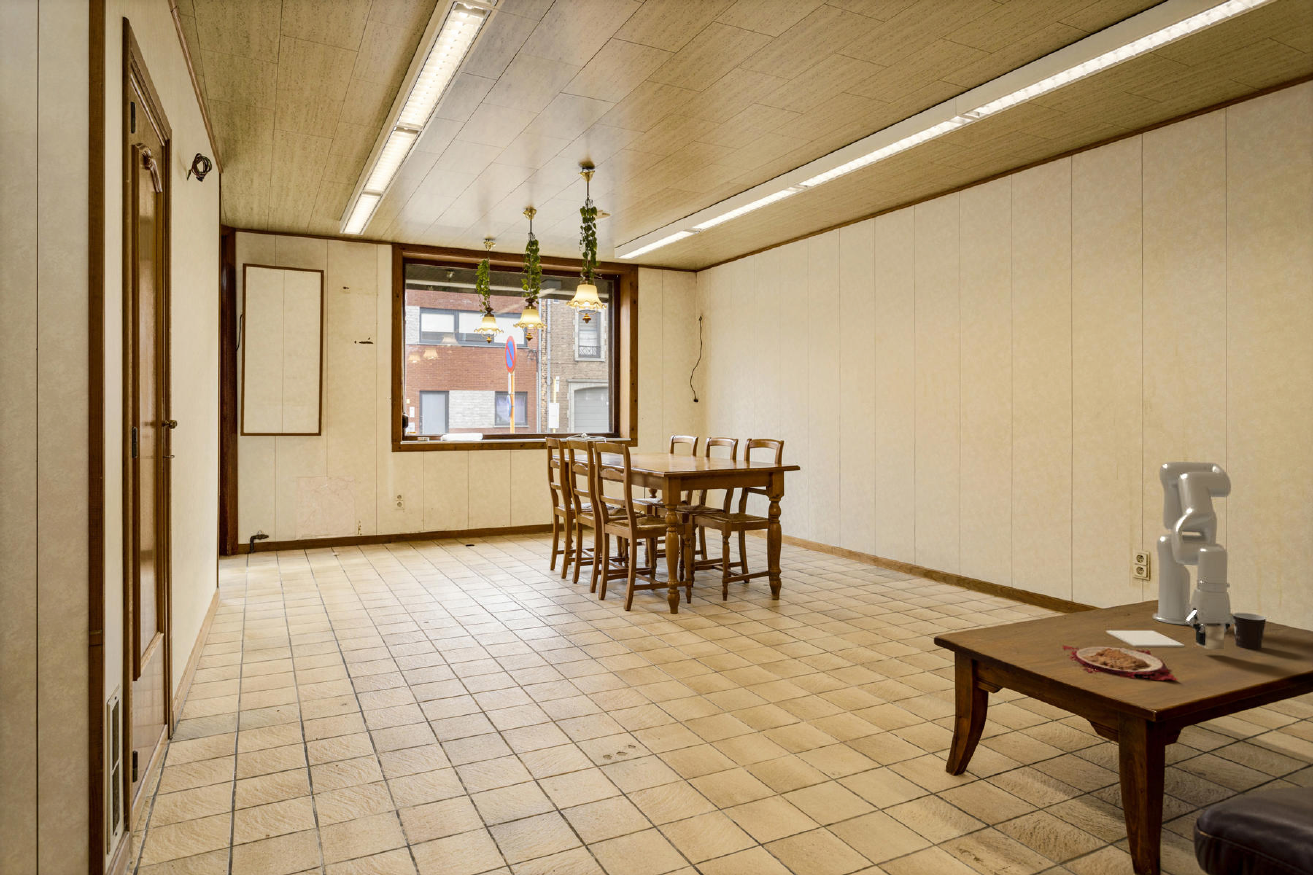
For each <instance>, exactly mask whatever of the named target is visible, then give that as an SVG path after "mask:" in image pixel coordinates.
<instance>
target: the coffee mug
mask: <svg viewBox="0 0 1313 875" xmlns="http://www.w3.org/2000/svg"><path fill="white" fill-rule="evenodd" d="M1232 617H1233V618H1234V620H1235V623H1234V624H1233V629H1234V637H1235V646H1236V647H1239V648H1241V649H1246V650H1251V651H1252V650H1253V651H1254V650H1255V651H1256V650H1257V651H1258V650H1261V649H1262V644H1263V638H1264V633H1265V627H1266V621H1267V618H1266V617H1265V616H1263V615H1260V614H1256V613H1248V612H1233V613H1232Z"/></svg>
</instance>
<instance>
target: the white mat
mask: <svg viewBox="0 0 1313 875" xmlns="http://www.w3.org/2000/svg"><path fill="white" fill-rule="evenodd" d="M1106 633H1107V634H1109V635H1111V636H1113V637H1115V638H1117V639H1119V640H1121V641H1123V642H1125V643H1127V644H1129V645H1131V646H1132V647H1135V648H1138V647H1140V648H1141V647H1142V648H1144V647H1148V648H1149V647H1157V648H1158V647H1163V648H1164V647H1165V648H1166V647H1168V648H1169V647H1171V648H1172V647H1176V648H1177V647H1181V648H1183V647H1185V644H1183V643H1181V642H1179V641H1177V640H1174V639H1172V638H1170V637H1168V636H1166V635H1163V634H1162V633H1159V632H1157V631H1155V630H1106Z"/></svg>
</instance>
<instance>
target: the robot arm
mask: <svg viewBox="0 0 1313 875" xmlns="http://www.w3.org/2000/svg"><path fill="white" fill-rule="evenodd" d="M1159 480H1160V484H1161V486H1162V488H1163V492H1164V495H1163V496H1164V497H1163V512H1162V513H1163V515H1162V518H1163V519H1162V522H1163V526H1164V528H1165V529H1166V530H1168V531H1171V532H1170V533H1166V534H1163V535H1160V536H1158V538H1157V540H1156V550H1157V551H1156V552H1157V556H1158V599H1157V600H1158V601H1157V605H1158V607H1157V608H1158V609H1157V612H1155V613H1153V614H1152V618H1153V619H1154V620H1155V621H1159V622H1161V623H1162V622H1163V623H1166V624H1171V625H1172V624H1173V625H1182V626H1183V625H1187V626H1188V625H1189V626H1191V627H1192V628H1193V629H1194V631H1195V641H1196V642H1197V643H1198V644H1200V645H1203V646H1204V645H1205V633H1204V629H1205V626H1206V624H1218V625H1220V626H1223V627H1224V634H1225V633H1227V630H1228V629H1230V627H1231V626H1232V625H1234V623H1235V620H1234V618H1233V615H1232V613H1231V609H1232V608H1231V598H1230V595H1229V592H1228V591H1227V589H1228V588H1230V583H1229V582H1228V556H1229V555H1228V552H1227V550H1226V548H1225V547H1224V546H1223V545H1222V544H1220V543H1216V542H1217V531H1218V530H1217V528H1218V518H1217V513H1216V512H1215V510H1214V506H1213V500H1212V498H1226V497H1228V496H1229V495H1230V494H1231V491H1232V483H1231V480H1230V477H1229V475H1228V473H1227V472H1226V471H1225V470H1224V469H1223V468H1222V467H1221V466H1220V465H1219V464H1217V463H1214V462H1198V461H1197V462H1196V461H1195V462H1192V461H1170V462H1165V463H1163V464H1161V466H1160V468H1159ZM1183 533H1198V534H1199V535H1196V534H1183ZM1186 565H1187V566H1197V572H1196V573H1197V576H1196V589H1194V590H1193V592H1192V595H1191V573H1190V571H1189V569H1188V568H1187V567H1186ZM1200 624H1201V625H1200ZM1196 642H1195V643H1196Z"/></svg>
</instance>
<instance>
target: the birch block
mask: <svg viewBox="0 0 1313 875" xmlns="http://www.w3.org/2000/svg"><path fill="white" fill-rule="evenodd" d="M1200 625H1201V624H1200ZM1204 633H1205V645H1204V646H1203V645H1200V644H1198V643H1197V642H1195V645H1197V646H1200V647H1202V648H1204V649H1206V650H1224V646H1225V643H1224V642H1225V633H1224V627H1223V626H1220V625H1218V624H1206V626H1205V629H1204Z"/></svg>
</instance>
